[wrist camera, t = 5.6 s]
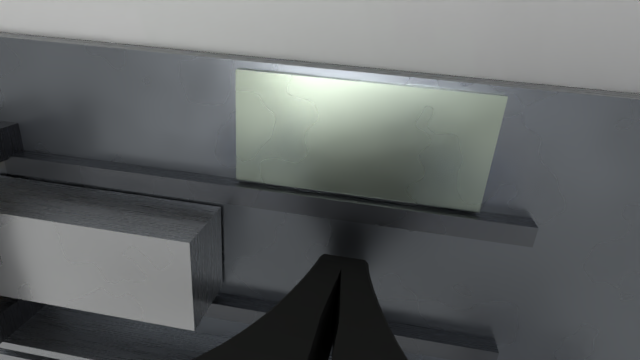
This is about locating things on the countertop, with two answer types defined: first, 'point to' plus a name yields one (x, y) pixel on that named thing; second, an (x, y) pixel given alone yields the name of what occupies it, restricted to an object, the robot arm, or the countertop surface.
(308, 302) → the robot arm
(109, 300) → the rectangular block
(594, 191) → the heatsink base
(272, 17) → the countertop surface
